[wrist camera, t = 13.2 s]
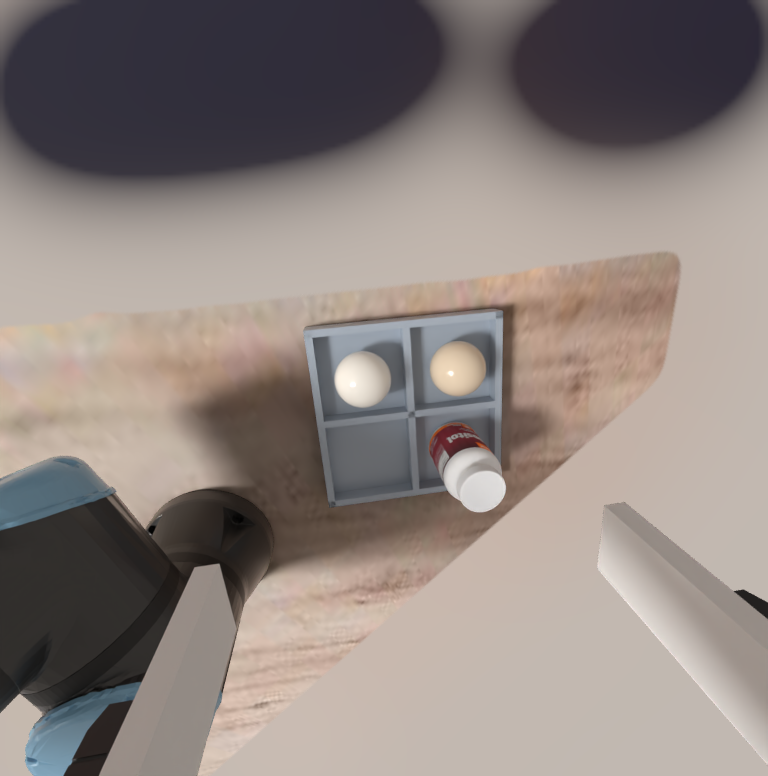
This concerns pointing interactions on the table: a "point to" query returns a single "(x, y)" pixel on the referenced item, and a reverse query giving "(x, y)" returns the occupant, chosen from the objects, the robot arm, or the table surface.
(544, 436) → the table surface
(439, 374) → the egg brown
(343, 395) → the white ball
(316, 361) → the divided tray
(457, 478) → the pill bottle
